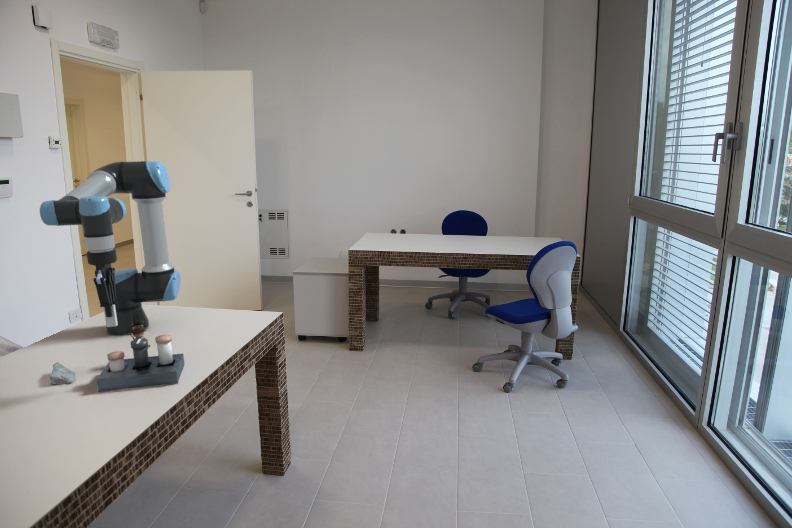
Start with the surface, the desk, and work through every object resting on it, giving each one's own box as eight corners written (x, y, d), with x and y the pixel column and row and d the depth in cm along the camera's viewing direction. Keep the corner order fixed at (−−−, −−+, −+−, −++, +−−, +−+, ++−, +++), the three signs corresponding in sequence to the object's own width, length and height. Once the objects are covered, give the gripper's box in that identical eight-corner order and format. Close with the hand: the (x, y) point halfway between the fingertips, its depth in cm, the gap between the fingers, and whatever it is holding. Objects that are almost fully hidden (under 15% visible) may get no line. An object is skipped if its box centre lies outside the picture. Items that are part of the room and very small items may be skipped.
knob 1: (113, 376, 164) (109, 351, 162) (129, 374, 165) (125, 350, 163) (108, 382, 160) (105, 357, 158) (125, 381, 161) (121, 356, 159)
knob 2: (159, 359, 166) (156, 335, 164) (175, 358, 167) (172, 333, 165) (156, 365, 162) (153, 340, 160) (172, 364, 163) (169, 339, 161)
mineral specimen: (77, 371, 171) (76, 359, 171) (75, 383, 161) (73, 370, 160) (54, 375, 168) (53, 362, 168) (49, 387, 158) (48, 373, 157)
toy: (145, 365, 173) (139, 322, 169) (130, 364, 174) (124, 321, 170) (157, 358, 179) (152, 316, 175) (142, 357, 180) (137, 315, 176)
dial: (135, 361, 165) (132, 338, 163) (151, 360, 166) (149, 336, 164) (131, 368, 160) (128, 343, 158) (148, 366, 161) (145, 342, 159)
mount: (111, 372, 168) (109, 360, 167) (184, 364, 173) (183, 353, 172) (98, 391, 155) (96, 379, 154) (177, 383, 160) (176, 371, 159)
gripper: (93, 245, 158) (104, 319, 164) (79, 255, 146) (91, 334, 152) (120, 244, 160) (130, 317, 166) (108, 253, 148) (120, 332, 153)
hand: (112, 325), depth 159 cm, fingers closed
